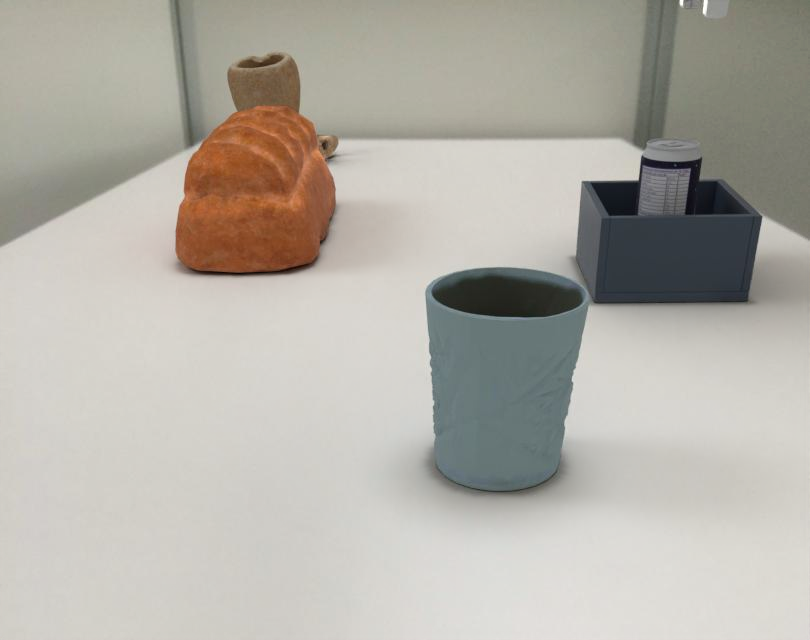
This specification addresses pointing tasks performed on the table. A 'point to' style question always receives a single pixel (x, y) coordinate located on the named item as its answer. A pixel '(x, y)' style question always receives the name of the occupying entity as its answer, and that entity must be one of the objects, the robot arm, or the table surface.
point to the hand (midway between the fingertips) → (701, 13)
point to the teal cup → (502, 372)
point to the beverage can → (669, 177)
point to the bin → (666, 246)
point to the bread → (255, 195)
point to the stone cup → (271, 88)
